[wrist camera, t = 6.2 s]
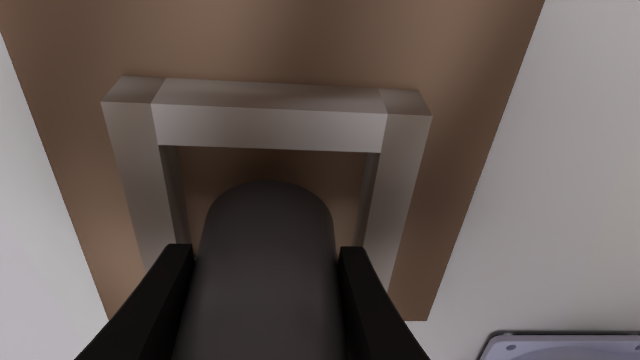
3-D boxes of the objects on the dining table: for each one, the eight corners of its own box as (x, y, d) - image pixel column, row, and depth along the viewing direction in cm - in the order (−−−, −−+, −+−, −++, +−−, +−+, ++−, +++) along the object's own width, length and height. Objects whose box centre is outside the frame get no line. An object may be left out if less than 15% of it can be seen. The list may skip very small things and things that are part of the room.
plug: (342, 184, 12) (382, 457, 7) (325, 274, 15) (343, 530, 9) (201, 175, 12) (119, 459, 6) (207, 270, 14) (151, 535, 9)
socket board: (533, -13, 11) (581, 11, 10) (422, 306, 20) (435, 353, 18) (-8, -51, 10) (-78, -32, 8) (115, 304, 19) (94, 354, 17)
